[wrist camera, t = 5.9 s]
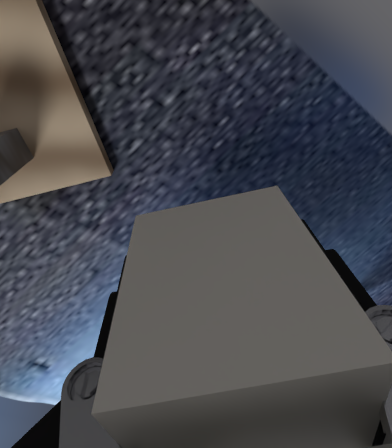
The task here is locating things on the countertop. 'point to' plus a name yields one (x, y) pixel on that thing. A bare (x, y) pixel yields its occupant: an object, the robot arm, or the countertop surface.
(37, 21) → the stand
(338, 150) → the countertop surface
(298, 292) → the white rectangular block
